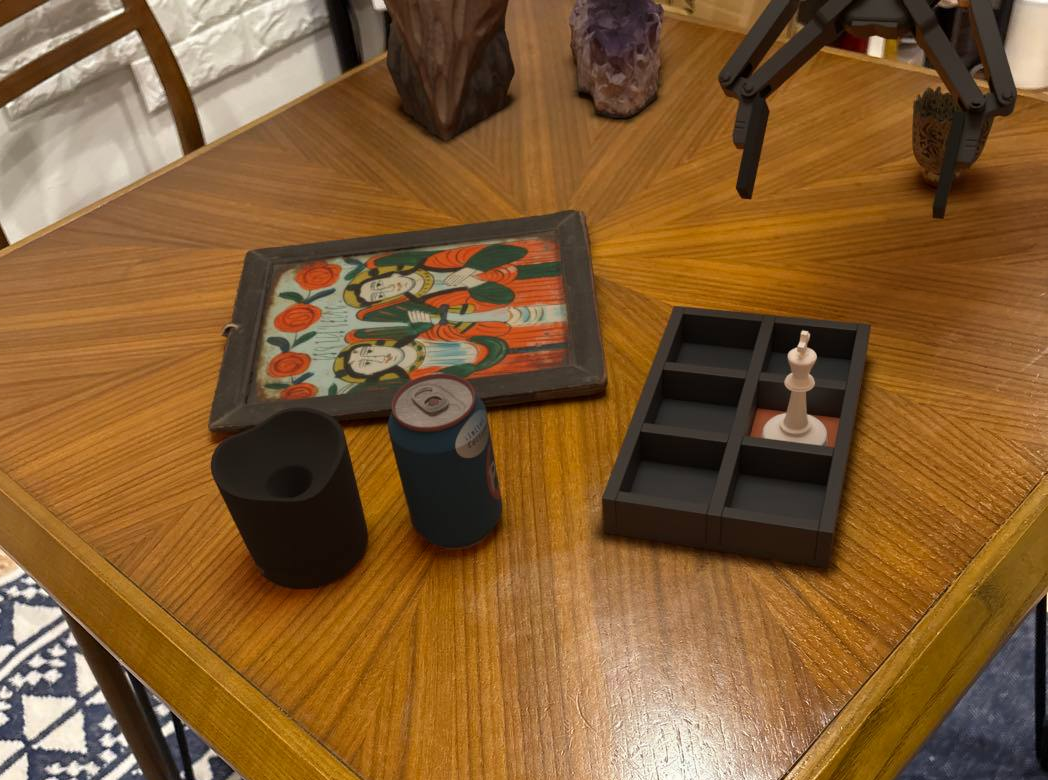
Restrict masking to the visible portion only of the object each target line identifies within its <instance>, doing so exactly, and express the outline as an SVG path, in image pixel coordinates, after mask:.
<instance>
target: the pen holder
mask: <svg viewBox="0 0 1048 780" xmlns="http://www.w3.org/2000/svg"><path fill="white" fill-rule="evenodd" d="M210 473H211V475H212V479H213V481H214V483H215V485H216V487H217V489H218V491H219V493H220V496H221V497H222V500H223V501H224V503H225V506H226V508H227V510H228V512H229V515H230V516H231V518H232V520H233V522H234V524H235V526H236V529H237V531H238V533H239V535H240V537H241V539H242V541H243V543H244V545H245V547H246V549H247V551H248V552H249V555H250V557H251V558H252V561H253V562H254V564H255V566H256V568H257V570H258V571H259V574H261V575H262V577H264V578H265V579H266V580H267V581H268V582H270V583H272V584H274V585H276V586H279V587H281V588H285V589H289V590H298V591H299V590H302V591H305V590H313V589H319V588H322V587H325V586H327V585H331V584H332V583H334V582H336V581H338V580H340V579H341V578H342V579H343V577H345V576H346V575H348V574H349V573H350V572H352V570H353V569H354V568H355V567H356V566H357V565H358V564H359V563H360V561H361V560H362V557H363V556H364V554H365V553H366V550H367V547H368V544H369V543H368V541H369V534H368V527H367V521H366V516H365V511H364V507H363V504H362V499H361V494H360V491H359V486H358V483H357V478H356V474H355V470H354V466H353V462H352V458H351V454H350V450H349V446H348V441H347V438H346V434H345V430H344V428H343V427H342V425H341V423H339V421H336V420H335V419H334V418H333V417H332V416H330V415H328V414H327V413H324V412H322V411H319V410H316V409H311V408H303V407H296V408H289V409H285V410H282V411H280V412H278V413H276V414H274V415H272V416H271V417H269V418H268V419H266V420H265V421H263V422H261V423H260V424H258V425H257V426H255V427H253V428H251V429H249V430H246V431H244V432H237V433H235V434H233V435H231V436H228V437H227V438H225V439H223V440H222V441H221V442H220V443H219V444H218V445H217V446H216V447H215V448H214V450H213V453H212V456H211V459H210Z"/></svg>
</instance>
